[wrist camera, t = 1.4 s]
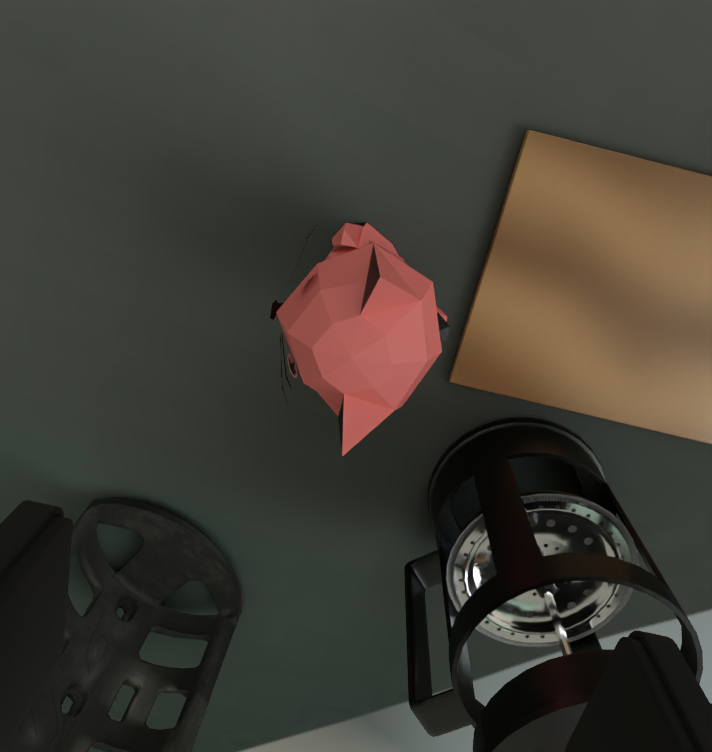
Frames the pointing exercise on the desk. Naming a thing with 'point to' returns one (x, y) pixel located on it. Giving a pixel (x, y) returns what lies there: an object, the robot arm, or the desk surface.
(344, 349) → the cat figurine
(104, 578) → the holder
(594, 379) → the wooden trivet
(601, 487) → the french press
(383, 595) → the desk surface
